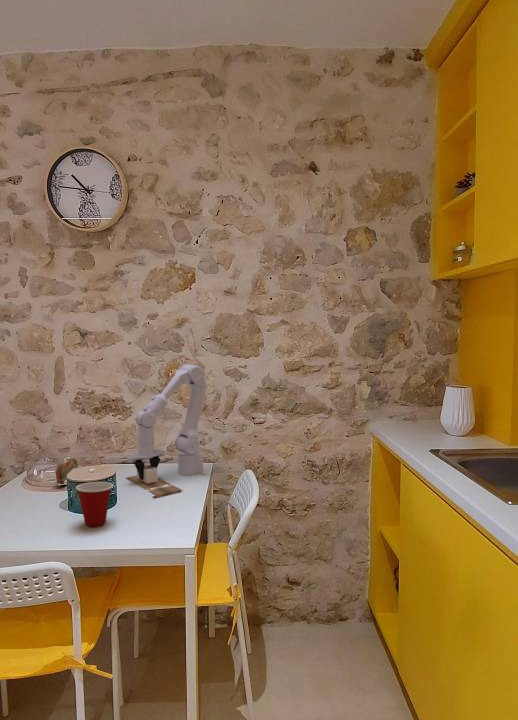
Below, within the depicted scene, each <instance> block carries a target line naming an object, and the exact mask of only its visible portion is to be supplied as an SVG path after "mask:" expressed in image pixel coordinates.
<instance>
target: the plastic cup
mask: <svg viewBox="0 0 518 720" xmlns="http://www.w3.org/2000/svg"><path fill="white" fill-rule="evenodd" d="M112 488H114V484H113V483H111V482H106V481H91V482H85V483H81V484H79V485H76V486H75V490H76V491H77V494H78V499H79V502H80V506H81V507H80V508H81V512H82V513H81V514H82V516H83V520H84V524H85V526H86V527H87V526H88V528H98V527H97V526H99V527H102V526H104V525H105V524H106V521H107V515H108V510H109V509H108V508H109V504H110V503H109V502H110V496H111V492H112ZM104 523H105V524H104ZM103 524H104V525H103ZM101 525H102V526H101Z"/></svg>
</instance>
